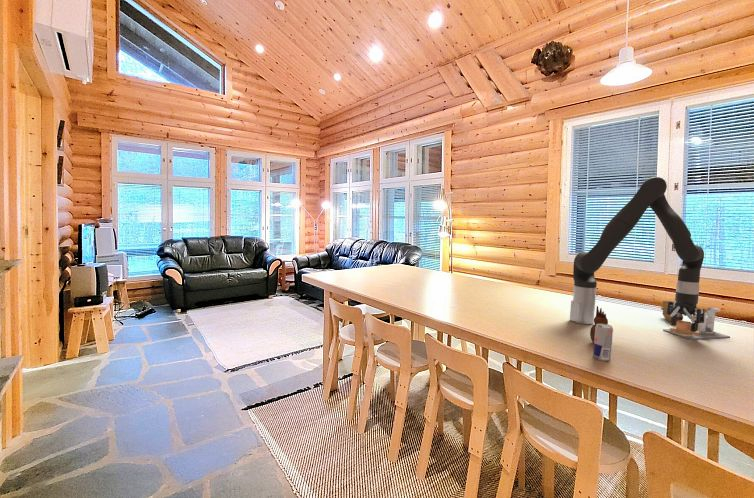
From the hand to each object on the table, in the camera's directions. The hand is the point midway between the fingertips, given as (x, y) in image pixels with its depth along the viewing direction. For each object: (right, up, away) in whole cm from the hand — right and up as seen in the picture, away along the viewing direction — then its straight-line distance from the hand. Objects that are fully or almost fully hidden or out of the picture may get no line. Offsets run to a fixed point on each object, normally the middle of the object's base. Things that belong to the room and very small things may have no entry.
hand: (683, 328), depth 158 cm
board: (+6, -3, +1) cm, 7 cm away
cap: (0, -2, 0) cm, 2 cm away
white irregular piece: (+11, -3, +2) cm, 12 cm away
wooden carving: (+10, -1, +20) cm, 22 cm away
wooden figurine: (-44, -4, -12) cm, 46 cm away
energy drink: (-52, -5, -27) cm, 59 cm away
